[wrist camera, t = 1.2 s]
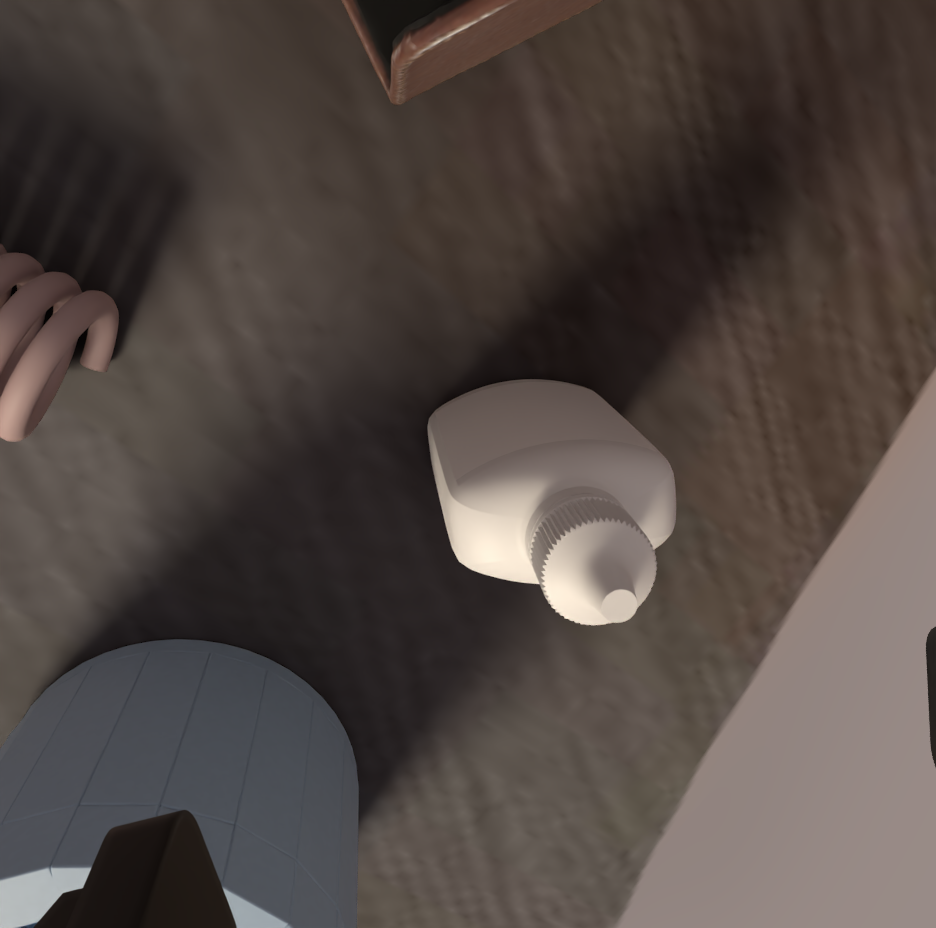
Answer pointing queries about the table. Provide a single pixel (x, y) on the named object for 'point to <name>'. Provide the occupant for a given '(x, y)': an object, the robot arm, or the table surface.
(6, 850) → the blue-grey pot
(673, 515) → the eye dropper bottle
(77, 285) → the coil
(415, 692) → the table surface
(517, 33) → the letter holder
